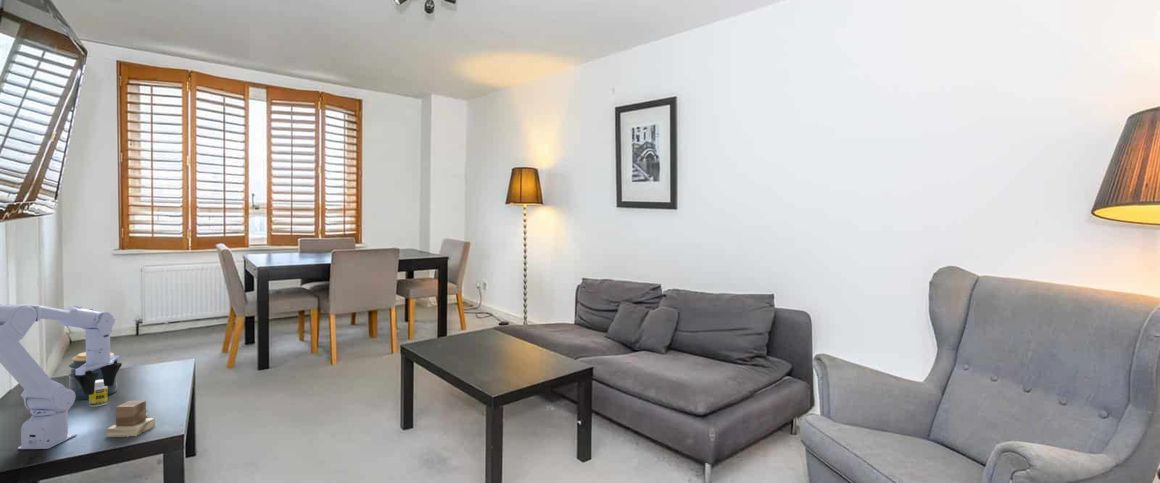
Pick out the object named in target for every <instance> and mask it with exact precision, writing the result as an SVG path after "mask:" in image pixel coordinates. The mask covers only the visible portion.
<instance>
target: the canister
mask: <svg viewBox="0 0 1160 483" xmlns="http://www.w3.org/2000/svg"><path fill="white" fill-rule="evenodd" d="M111 356H115V353H114V352H112V351H110V357H111ZM71 360H72V361H73V362H71V363H69V364H68V367H69V368H70V373H69V374H68V378H69V382H68V383H69V384H68V385H69V388H68V389H71V390H73V391H74V393H75V400H89V395H85V394H84V391H83V389H82V386H81V385H80V383H79V382H78V380H77V379H76V378H75V377H74V374H76V370H75V369H77V368H79V367H81V366H82V365H84V364H85V363H86V351H84V352H79V353H78V354H76V355H75V356H73V357H72V358H71ZM91 372H93V373H98V376H97V378H96V380H103V374H102V371H101V369H100V368H98V369H95V370H93V371H91ZM117 374H118V373H117ZM117 374H116V377H115V380H114V384H113V386H107V387H108V391H107V396H109V395H111V394H114V393H115V392H116V391H117V389H118V382H117Z"/></svg>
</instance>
